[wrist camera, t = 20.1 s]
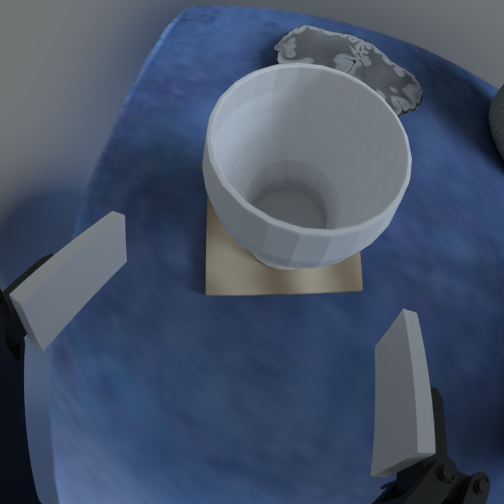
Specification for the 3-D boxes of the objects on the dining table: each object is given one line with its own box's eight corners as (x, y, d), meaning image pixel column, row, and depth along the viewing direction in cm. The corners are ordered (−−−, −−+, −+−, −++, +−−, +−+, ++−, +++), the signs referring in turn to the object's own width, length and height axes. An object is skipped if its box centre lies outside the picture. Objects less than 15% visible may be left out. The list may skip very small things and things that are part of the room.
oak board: (345, 175, 29) (349, 169, 28) (357, 291, 27) (362, 290, 25) (210, 176, 29) (208, 169, 28) (208, 296, 27) (205, 295, 26)
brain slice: (244, 95, 32) (243, 79, 29) (300, 31, 35) (302, 17, 32) (395, 168, 30) (406, 156, 27) (420, 86, 33) (428, 74, 30)
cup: (333, 172, 28) (386, 63, 13) (349, 281, 26) (445, 242, 11) (224, 178, 28) (196, 61, 13) (229, 291, 26) (192, 260, 11)
